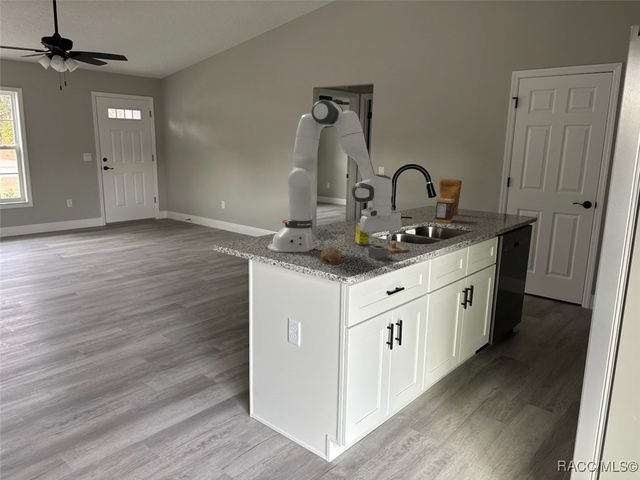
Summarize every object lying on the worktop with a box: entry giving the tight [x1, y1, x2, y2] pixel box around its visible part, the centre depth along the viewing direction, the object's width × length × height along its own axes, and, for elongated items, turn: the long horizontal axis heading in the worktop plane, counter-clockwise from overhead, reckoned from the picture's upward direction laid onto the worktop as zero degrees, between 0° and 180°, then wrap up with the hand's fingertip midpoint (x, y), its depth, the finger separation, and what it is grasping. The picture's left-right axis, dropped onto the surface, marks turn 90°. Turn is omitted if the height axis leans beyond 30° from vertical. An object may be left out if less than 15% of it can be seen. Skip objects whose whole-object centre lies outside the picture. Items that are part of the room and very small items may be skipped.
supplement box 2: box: [434, 198, 455, 223], centre depth 331 cm, size 10×15×16 cm
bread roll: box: [319, 247, 343, 265], centre depth 201 cm, size 10×10×8 cm
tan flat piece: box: [383, 240, 410, 254], centre depth 229 cm, size 11×11×4 cm
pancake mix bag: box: [437, 178, 463, 217], centre depth 361 cm, size 7×19×28 cm, turn 44°
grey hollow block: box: [367, 244, 389, 261], centre depth 212 cm, size 6×6×5 cm
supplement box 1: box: [355, 222, 371, 246], centre depth 239 cm, size 6×6×11 cm
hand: (380, 241), depth 211 cm, fingers open, 8 cm apart
